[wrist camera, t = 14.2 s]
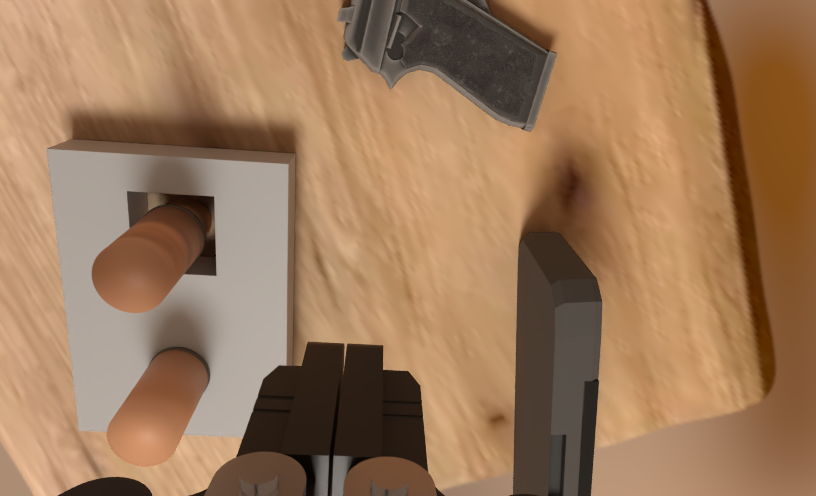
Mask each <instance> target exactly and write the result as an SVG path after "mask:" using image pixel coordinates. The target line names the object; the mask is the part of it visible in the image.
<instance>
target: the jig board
mask: <svg viewBox="0 0 816 496" xmlns="http://www.w3.org/2000/svg"><path fill="white" fill-rule="evenodd" d="M47 157H48V166H49V175H50V183H51V192H52V201H53V209H54V218H55V227H56V235H57V244H58V253H59V261H60V270H61V279H62V287H63V296H64V305H65V313H66V322H67V331H68V339H69V348H70V357H71V366H72V374H73V383H74V392H75V400H76V409H77V418H78V426H79V431H100V432H107V440H108V443H109V445H110V447H111V449H112V450H113V451H114V453H115V454H116V455H117V456H118V457H120V458H121V459H123V460H124V461H126V462H128V463H130V464H133V465H137V466H155V465H158V464H161V463H163V462H165V461H166V460H168V459H169V458H170V457H171V456H172V455H173V453H174V452H175V450H176V448H177V446H178V444H179V442H180V440H181V438H182V436H183V435H197V436H221V437H244V434H245V431H246V428H247V425H248V422H249V419H250V416H251V413H252V412H253V408H254V405H255V402H256V399H257V398H258V393H259V390H260V387H261V384H262V381H263V379H264V378H265V377H266V376H267V375H268V374H269V373H271V372H272V371H273V370H274V369H275V368H276V367H278V366H279V365H285V366H293V315H294V244H295V172H296V154H295V153H280V152H264V151H249V150H233V149H218V148H203V147H187V146H172V145H156V144H141V143H125V142H110V141H94V140H79V139H71V140H68V141H66V142H63V143H60V144H58V145H55V146H53V147H50V148H47ZM147 192H149V193H165V194H182V195H198V196H214V204H215V238H216V257H200V256H199V257H198V258H197V259H196V260H195V261H194V262H193V263H192V264H191V266H190V267H189V268H188V270H187V271H186V272H185V273H184V275H183V276H182V277H181V278H180V280H179V281H178V282H177V283H176V285H175V286H174V287H173V288H172V290H171V291H170V292H169V294H168V295H167V296H166V297H165V299H164V300H163V301H162V302H161V303H160V304H159V305H158V306H157V307H155V308H154V309H152V310H149V311H146V312H142V313H128V312H123V311H120V310H118V309H116V308H114V307H112V306H110V305H109V304H108V303H106V302H105V301H104V300H103V299H102V298H101V297H100V296H99V294H98V293H97V291H96V289H95V287H94V285H93V281H92V266H93V263H94V261H95V259H96V257H97V256H98V254H99V253H100V252H101V251H103V250H104V249H105V248H106V247H108V246H109V245H110V244H111V243H112V242H114V241H115V240H116V239H117V238H119V237H120V236H121V235H122V234H123V233H125V232H126V231H127V230H128V229H130V228H131V227H132V226H133V225H134V224H136V223H137V222H138V221H139V220H140V219H142V218H143V217H144V215H145V214H146V213H148V206H147Z"/></svg>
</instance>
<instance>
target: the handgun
mask: <svg viewBox="0 0 816 496" xmlns="http://www.w3.org/2000/svg"><path fill="white" fill-rule="evenodd" d="M337 21H341V22H346V27H345V32H344V39H345V41H346V43H347V46H346V47H345V49H344V50H343V51H342V56H343V59H345V60H347V61H350V60H354V59H360V60H361V61H362V62H363V63H364V64H365V65H366V66H367V67H368V68H369V69H370V70H371V72H374V73H378V74H380V75H381V76H382V77H383V78H384V79H385V80H386V82H387V84H388V86H389V89H392V88H393V87H394V85H395V84H396V82H397V81H398V80H399V79H401V78H402V77H403V76H404V75H405V74H407V73H409V72H413V71H416V70H424V71H428V72H432V73H434V74H436V75H437V76H438V77H440V78H441V79H442V80H444V81H445V82H446V83H448V84H449V85H450V86H452V87H453V88H454V89H456V90H457V91H458V92H460V93H461V94H462V95H463V96H465V97H466V98H467V99H469V100H470V101H471V102H473V103H474V104H475V105H477V106H478V107H479V108H481V109H482V110H483V111H485V112H486V113H487V114H489V115H490V116H491V117H493V118H494V119H496V120H498V121H500V122H502V123H505V124H507V125H509V126H514V127H519V128H521V129H522V130H525V131H529V132H531V131H532V130H533V128H534V125H535V122H536V119H537V115H538V112H539V109H540V106H541V103H542V100H543V96H544V93H545V90H546V87H547V84H548V81H549V77H550V74H551V71H552V68H553V65H554V61H555V58H556V55H557V52H553V51H550V50H545V49H544V48H543V47H541V46H540V45H539V44H537V43H536V42H534V41H533V40H531V39H530V38H528V37H526V36H525V35H523V34H522V33H520V32H519V31H517V30H516V29H514V28H512V27H511V26H509V25H508V24H506V23H505V22H503V21H501V20H500V19H498V18H497V17H495V16H494V15H493V13H492V11H491V9H490V7H489V4H488V2H487V0H351V3H350V7H348V8H340V10H339V15H338V20H337Z"/></svg>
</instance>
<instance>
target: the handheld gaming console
mask: <svg viewBox="0 0 816 496" xmlns="http://www.w3.org/2000/svg"><path fill="white" fill-rule="evenodd" d="M601 325H602V299H601V295H600V290H599V286H598V282H597V279H596V277H595V276H594V275H593V274H592V272H591V271H590V270H589V269H588V267H587V266H586V265H585V264H584V262H583V261H582V260H581V259H580V257H579V256H578V255H577V254H576V253H575V251H574V250H573V249H572V248H571V246H570V245H569V244H568V243H567V241H566V240H565V239H564V238H563V236H562V235H561V234H560V233H556V232H538V233H528V234H527V235H526V236H525V237H524V238H523V239H522V241H521V243H520V245H519V256H518V286H517V333H516V380H515V428H514V475H513V476H514V477H513V495H515V494H533V495H538V496H591V484H592V471H593V457H594V456H593V455H594V443H595V429H596V414H597V400H598V386H599V381H598V379H597V378H598V374H599V359H600V345H601Z"/></svg>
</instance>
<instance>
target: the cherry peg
mask: <svg viewBox="0 0 816 496" xmlns="http://www.w3.org/2000/svg"><path fill="white" fill-rule="evenodd" d="M210 228H211V216H210V213H209V211H208V210H207V208H206V207H205V206H204V205H203V204H202V203H201V202H199V201H197V200H195V199H191V198H180V199H177V200H175V201H173V202H172V203H171V204H166V205H160V206H157V207H155V208H153V209H151V210H150V211H149V212H148V213H146V214H145V215H144V217H143V218H142V219H140V220H139V221H138V222H137V223H136V224H134V225H133V226H132V227H131V228H130V229H128V230H127V231H126V232H125V233H123V234H122V235H121V236H120V237H119V238H117V239H116V240H115V241H114V242H112V243H111V244H110V245H109V246H108V247H106V248H105V249H104V250H103V251H101V252H100V253H99V254H98V256H97V257H96V259H95V261H94V263H93V266H92V281H93V285H94V287H95V289H96V291H97V293H98V294H99V296H100V297H101V298H102V299H103V300H104V301H105V302H106V303H108V304H109V305H110V306H112V307H114V308H116V309H118V310H120V311H123V312H128V313H142V312H146V311H149V310H152V309H154V308H155V307H157V306H158V305H159V304H160V303H161V302H162V301H163V300H164V299H165V297H166V296H167V295H168V294H169V292H170V291H171V290H172V288H173V287H174V286H175V285H176V283H177V282H178V281H179V280H180V278H181V277H182V276H183V275H184V273H185V272H186V271H187V270H188V268H189V267H190V266H191V264H192V263H193V262H194V261H195V260H196V259H197V258H198V257H199V256H200V254H201V253H202V251H203V249H204V246H205V242H206V235H207V233H208V232H209V230H210Z"/></svg>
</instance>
